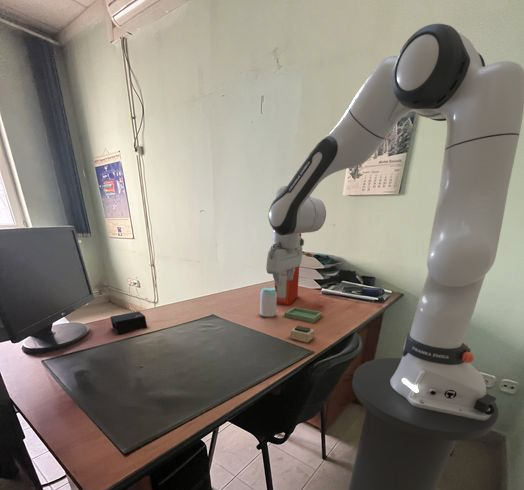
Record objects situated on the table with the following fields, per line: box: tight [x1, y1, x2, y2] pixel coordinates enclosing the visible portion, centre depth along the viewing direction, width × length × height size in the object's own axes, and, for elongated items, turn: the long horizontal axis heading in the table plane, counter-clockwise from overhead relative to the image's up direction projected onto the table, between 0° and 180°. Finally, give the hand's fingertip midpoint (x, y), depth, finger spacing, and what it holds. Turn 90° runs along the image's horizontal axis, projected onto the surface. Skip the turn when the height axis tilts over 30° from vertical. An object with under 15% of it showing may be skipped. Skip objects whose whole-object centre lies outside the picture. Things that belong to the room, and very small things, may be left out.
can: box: [259, 286, 277, 318], centre depth 124 cm, size 7×7×12 cm
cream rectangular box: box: [290, 325, 315, 343], centre depth 103 cm, size 7×5×4 cm
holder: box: [284, 306, 323, 324], centre depth 125 cm, size 14×10×2 cm
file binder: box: [274, 233, 302, 306], centre depth 141 cm, size 8×17×32 cm, turn 161°
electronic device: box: [109, 310, 148, 335], centre depth 109 cm, size 7×11×5 cm
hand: (283, 282), depth 101 cm, fingers open, 8 cm apart
